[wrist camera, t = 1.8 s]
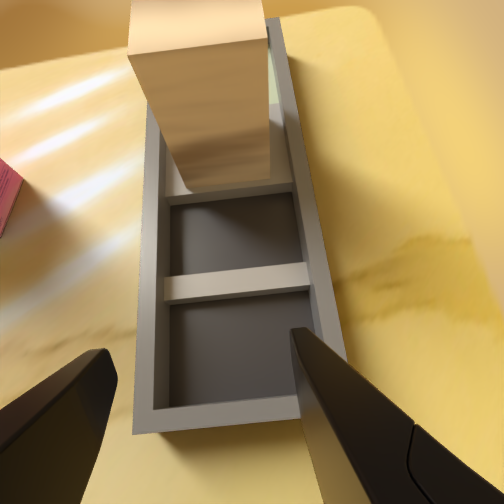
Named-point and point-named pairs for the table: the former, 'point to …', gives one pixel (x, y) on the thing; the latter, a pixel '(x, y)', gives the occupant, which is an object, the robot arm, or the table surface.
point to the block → (206, 84)
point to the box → (7, 191)
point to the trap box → (230, 280)
